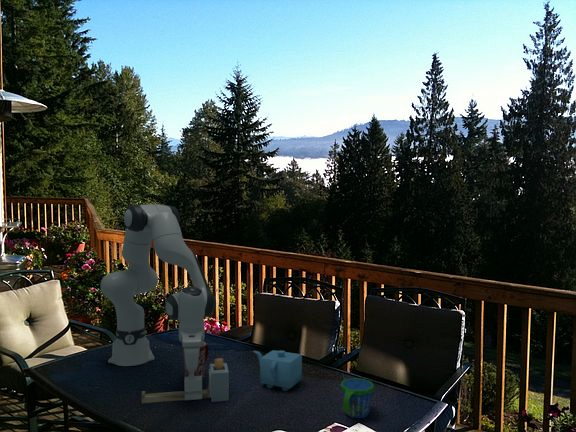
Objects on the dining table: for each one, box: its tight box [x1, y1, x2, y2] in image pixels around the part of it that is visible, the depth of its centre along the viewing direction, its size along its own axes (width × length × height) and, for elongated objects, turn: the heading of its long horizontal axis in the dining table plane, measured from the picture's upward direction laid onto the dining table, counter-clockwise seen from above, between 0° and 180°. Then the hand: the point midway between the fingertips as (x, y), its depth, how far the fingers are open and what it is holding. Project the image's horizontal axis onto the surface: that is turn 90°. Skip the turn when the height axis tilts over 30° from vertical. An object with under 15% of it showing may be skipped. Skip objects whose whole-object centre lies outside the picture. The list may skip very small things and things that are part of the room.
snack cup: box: [340, 377, 375, 419], centre depth 171 cm, size 16×10×10 cm
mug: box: [182, 340, 210, 380], centre depth 205 cm, size 13×9×14 cm
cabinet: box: [208, 362, 230, 403], centre depth 186 cm, size 10×6×10 cm, turn 11°
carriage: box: [183, 376, 203, 401], centre depth 185 cm, size 5×6×6 cm
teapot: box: [252, 350, 303, 392], centre depth 197 cm, size 18×16×13 cm
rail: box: [141, 386, 211, 404], centre depth 184 cm, size 3×24×3 cm, turn 101°
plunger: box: [214, 357, 224, 370], centre depth 186 cm, size 3×3×5 cm
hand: (191, 372), depth 185 cm, fingers open, 8 cm apart
